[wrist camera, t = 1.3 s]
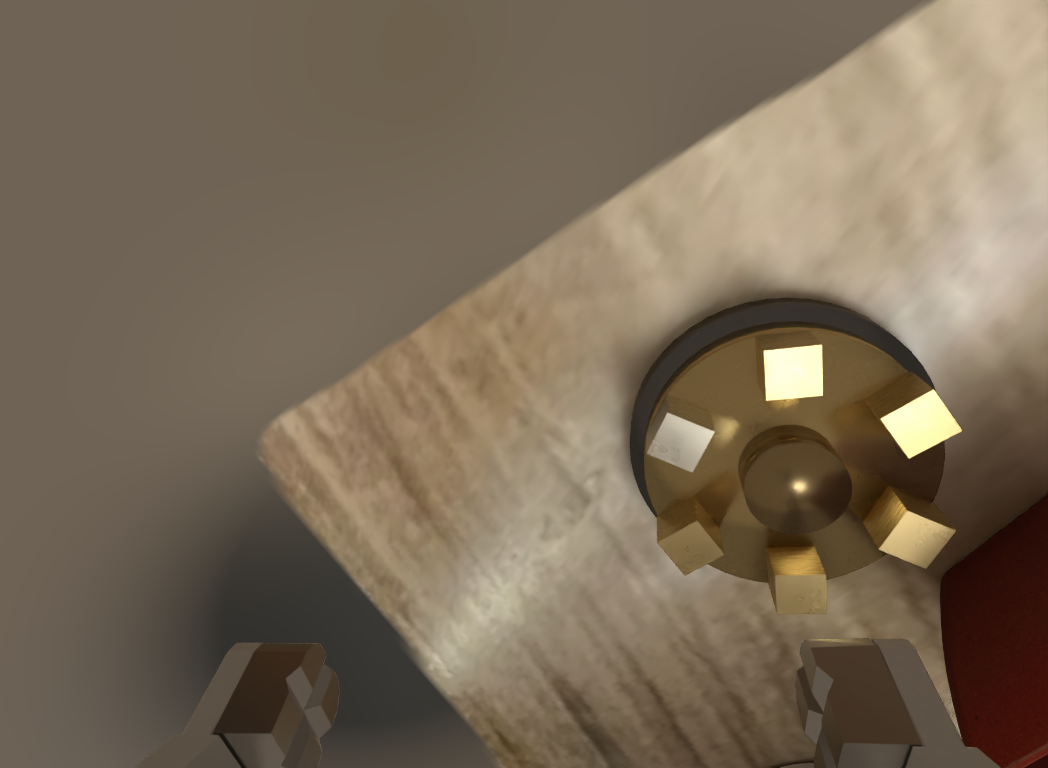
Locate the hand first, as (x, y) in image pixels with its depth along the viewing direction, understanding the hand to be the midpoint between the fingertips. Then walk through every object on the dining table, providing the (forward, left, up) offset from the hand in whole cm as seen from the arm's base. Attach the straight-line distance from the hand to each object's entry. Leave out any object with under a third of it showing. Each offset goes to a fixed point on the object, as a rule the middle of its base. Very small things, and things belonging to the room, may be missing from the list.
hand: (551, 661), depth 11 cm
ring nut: (-14, +6, -32) cm, 36 cm away
